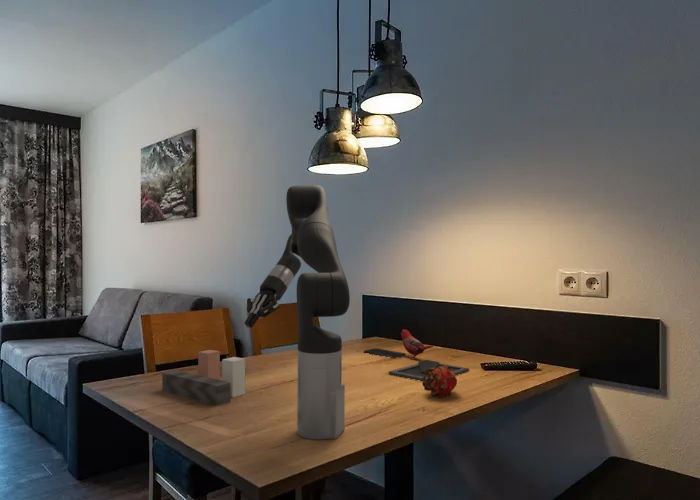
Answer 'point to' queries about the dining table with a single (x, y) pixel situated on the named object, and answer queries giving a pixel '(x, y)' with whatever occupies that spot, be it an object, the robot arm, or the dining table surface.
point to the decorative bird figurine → (412, 344)
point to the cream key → (234, 375)
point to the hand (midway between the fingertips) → (247, 325)
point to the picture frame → (423, 370)
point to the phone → (384, 353)
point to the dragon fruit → (439, 380)
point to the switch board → (196, 387)
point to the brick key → (209, 364)
